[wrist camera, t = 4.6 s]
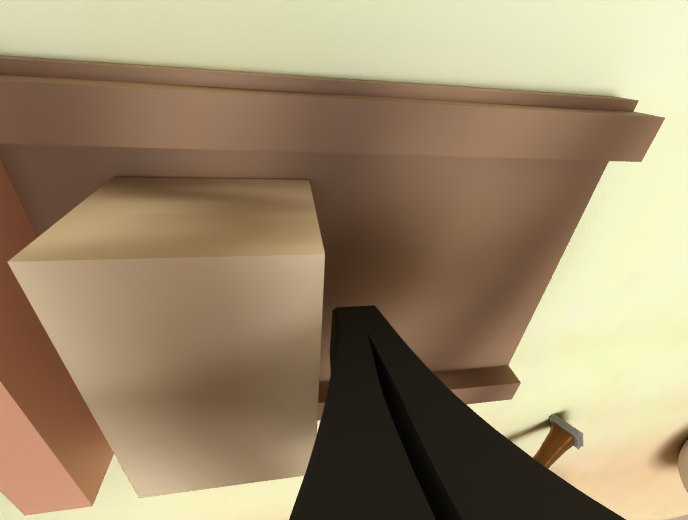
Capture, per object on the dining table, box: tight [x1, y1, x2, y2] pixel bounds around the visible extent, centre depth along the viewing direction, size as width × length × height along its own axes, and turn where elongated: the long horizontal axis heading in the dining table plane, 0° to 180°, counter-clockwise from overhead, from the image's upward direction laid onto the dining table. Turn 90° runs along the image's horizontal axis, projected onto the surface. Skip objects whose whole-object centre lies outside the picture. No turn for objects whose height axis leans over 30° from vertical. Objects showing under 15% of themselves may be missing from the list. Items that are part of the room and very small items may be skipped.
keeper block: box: [8, 177, 325, 498], centre depth 9 cm, size 5×8×4 cm, turn 176°
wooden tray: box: [0, 56, 665, 515], centre depth 11 cm, size 19×13×4 cm
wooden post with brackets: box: [533, 414, 583, 469], centre depth 21 cm, size 2×8×4 cm, turn 115°
